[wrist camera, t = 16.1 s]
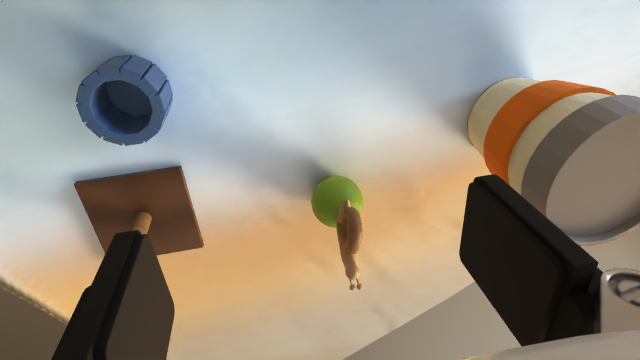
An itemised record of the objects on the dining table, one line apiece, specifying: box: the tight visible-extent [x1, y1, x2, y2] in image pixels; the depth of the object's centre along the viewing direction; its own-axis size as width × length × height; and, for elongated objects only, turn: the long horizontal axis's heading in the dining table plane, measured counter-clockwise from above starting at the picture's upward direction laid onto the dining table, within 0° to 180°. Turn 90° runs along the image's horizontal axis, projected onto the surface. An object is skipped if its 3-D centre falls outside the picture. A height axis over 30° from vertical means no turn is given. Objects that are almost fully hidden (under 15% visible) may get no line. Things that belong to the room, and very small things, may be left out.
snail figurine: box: [311, 176, 363, 290], centre depth 39 cm, size 5×6×12 cm
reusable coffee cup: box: [468, 77, 640, 246], centre depth 37 cm, size 12×13×15 cm
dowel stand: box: [74, 166, 204, 255], centre depth 39 cm, size 10×10×7 cm
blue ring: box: [76, 55, 173, 146], centre depth 33 cm, size 6×6×4 cm
